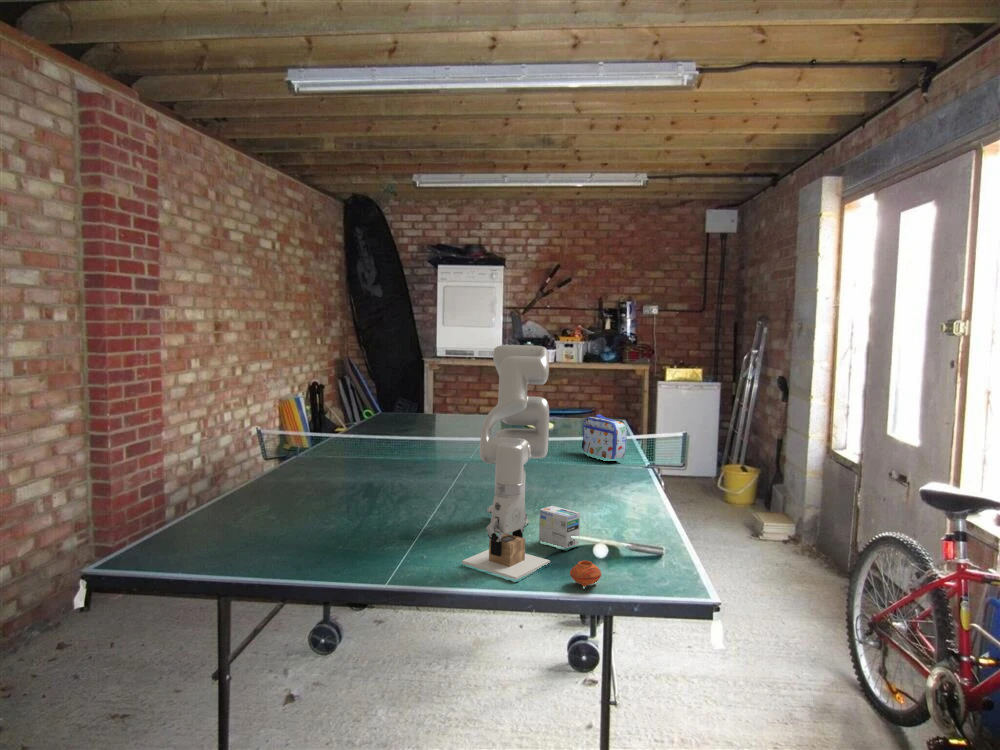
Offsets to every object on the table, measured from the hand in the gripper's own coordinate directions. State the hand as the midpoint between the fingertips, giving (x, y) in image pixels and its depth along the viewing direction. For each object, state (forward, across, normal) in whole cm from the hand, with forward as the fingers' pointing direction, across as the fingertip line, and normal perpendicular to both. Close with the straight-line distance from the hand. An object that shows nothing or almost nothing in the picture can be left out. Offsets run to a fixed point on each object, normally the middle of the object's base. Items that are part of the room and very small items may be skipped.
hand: (506, 550), depth 177 cm
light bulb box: (+5, +24, -2) cm, 25 cm away
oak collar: (+3, 0, 0) cm, 3 cm away
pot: (+5, +2, -23) cm, 24 cm away
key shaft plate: (+4, 0, 0) cm, 4 cm away
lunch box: (+5, +149, +50) cm, 157 cm away
